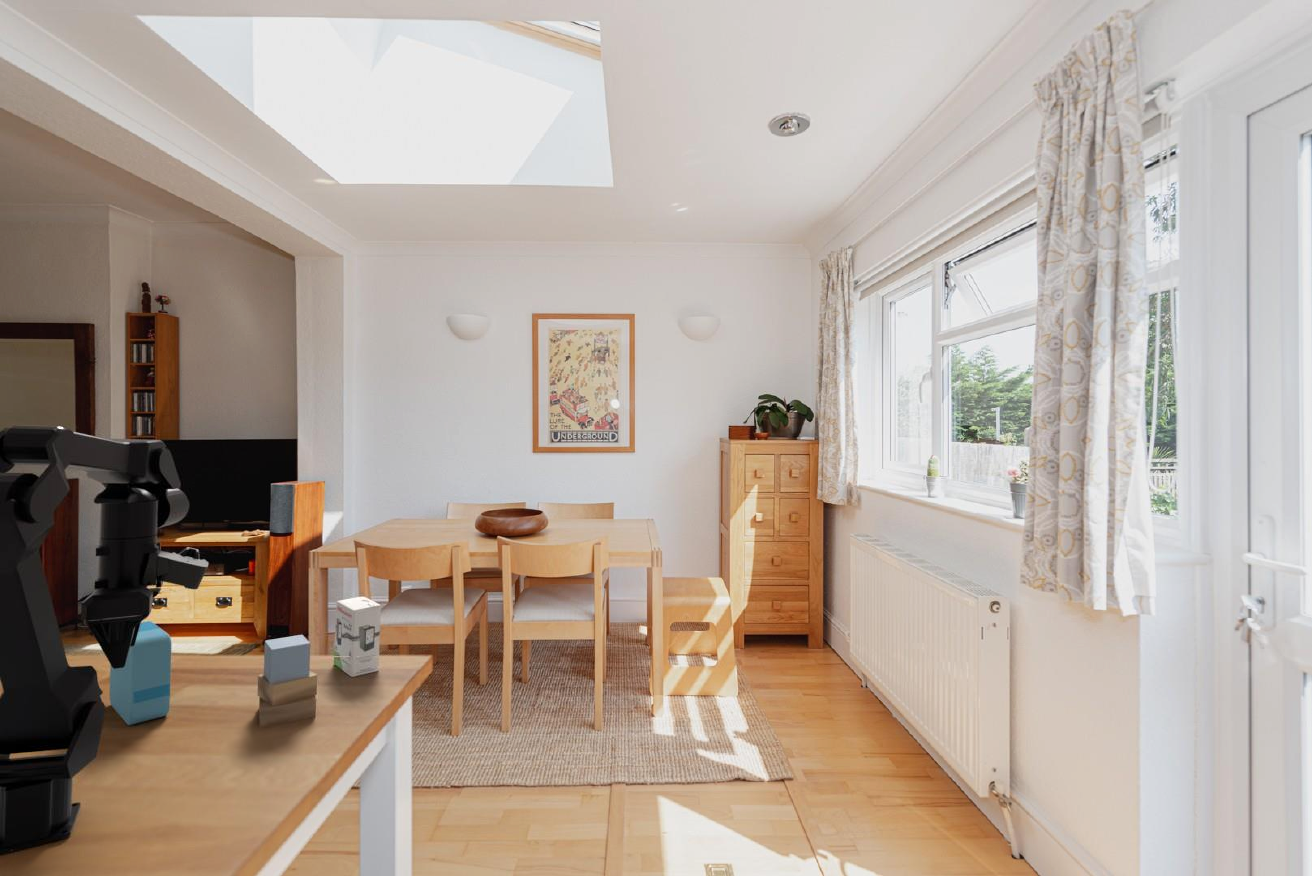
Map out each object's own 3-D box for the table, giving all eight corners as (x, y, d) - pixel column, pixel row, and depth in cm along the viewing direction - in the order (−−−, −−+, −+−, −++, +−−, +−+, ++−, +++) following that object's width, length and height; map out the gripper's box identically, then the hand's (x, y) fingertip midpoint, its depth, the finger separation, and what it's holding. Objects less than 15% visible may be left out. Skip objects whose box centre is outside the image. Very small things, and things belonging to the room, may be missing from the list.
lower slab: (315, 719, 93) (316, 699, 93) (259, 730, 90) (260, 709, 90) (311, 701, 99) (312, 682, 99) (259, 711, 95) (259, 691, 95)
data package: (169, 718, 91) (172, 635, 91) (129, 729, 88) (132, 643, 88) (146, 695, 99) (148, 618, 99) (108, 704, 95) (111, 624, 95)
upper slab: (316, 694, 95) (317, 675, 95) (272, 707, 90) (273, 686, 90) (300, 684, 99) (301, 664, 99) (257, 695, 94) (258, 675, 94)
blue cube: (309, 676, 94) (310, 643, 94) (270, 684, 91) (271, 649, 91) (301, 666, 98) (302, 634, 98) (263, 674, 95) (264, 640, 95)
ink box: (332, 664, 114) (334, 599, 114) (360, 658, 118) (362, 595, 118) (351, 678, 108) (353, 609, 108) (380, 671, 112) (382, 604, 112)
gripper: (202, 542, 78) (197, 668, 78) (207, 523, 94) (204, 628, 94) (82, 549, 72) (77, 685, 72) (109, 527, 87) (105, 640, 87)
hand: (124, 656), depth 81 cm, fingers open, 9 cm apart
